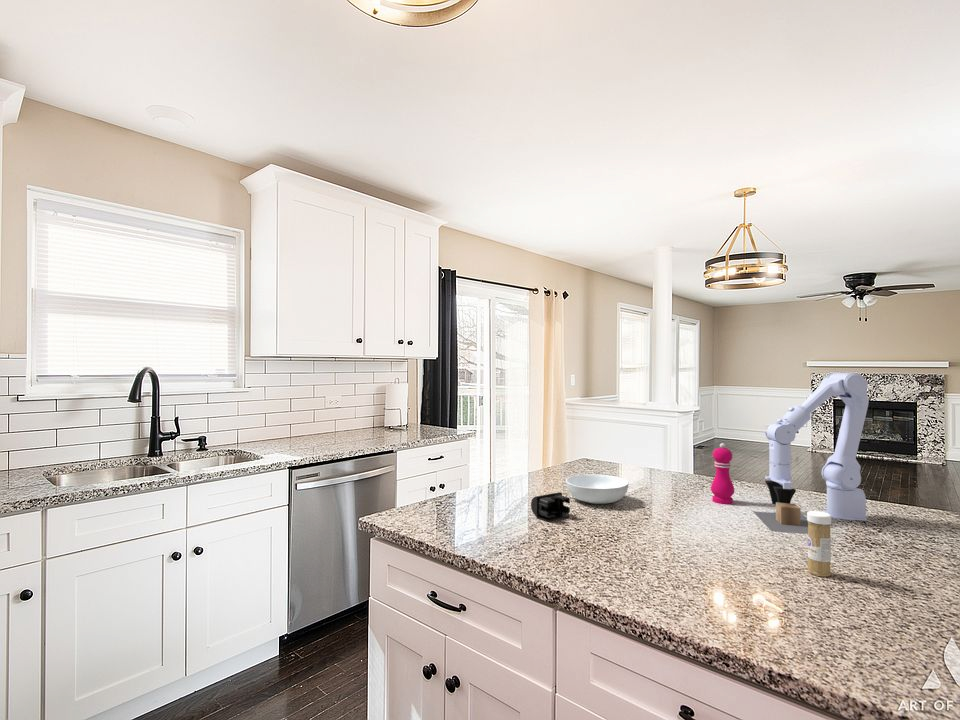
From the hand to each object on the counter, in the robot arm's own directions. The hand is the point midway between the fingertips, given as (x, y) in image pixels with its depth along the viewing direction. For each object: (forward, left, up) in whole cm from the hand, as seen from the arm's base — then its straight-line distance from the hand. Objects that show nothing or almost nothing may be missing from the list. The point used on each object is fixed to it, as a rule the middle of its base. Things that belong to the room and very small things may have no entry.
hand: (779, 507), depth 161 cm
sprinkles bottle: (+5, +47, -3) cm, 47 cm away
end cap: (+68, +19, -3) cm, 71 cm away
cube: (0, +5, 0) cm, 5 cm away
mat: (0, +8, -3) cm, 8 cm away
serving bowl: (+55, -4, -3) cm, 55 cm away
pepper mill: (+14, -12, -3) cm, 19 cm away
